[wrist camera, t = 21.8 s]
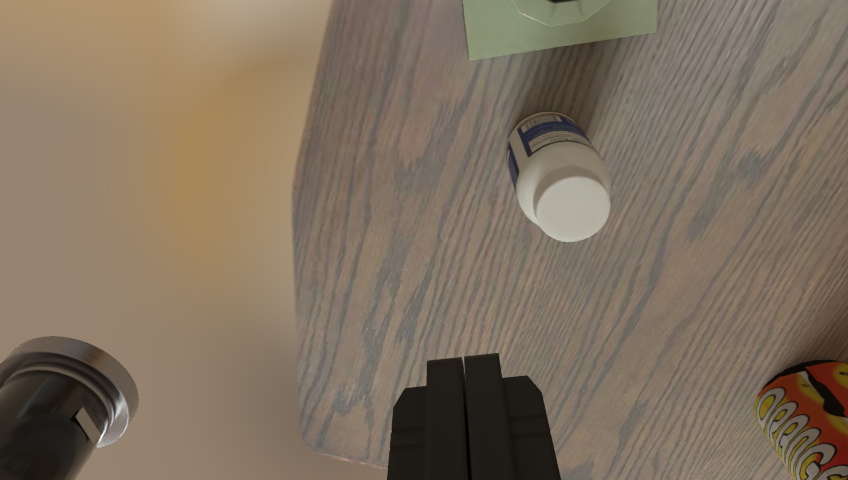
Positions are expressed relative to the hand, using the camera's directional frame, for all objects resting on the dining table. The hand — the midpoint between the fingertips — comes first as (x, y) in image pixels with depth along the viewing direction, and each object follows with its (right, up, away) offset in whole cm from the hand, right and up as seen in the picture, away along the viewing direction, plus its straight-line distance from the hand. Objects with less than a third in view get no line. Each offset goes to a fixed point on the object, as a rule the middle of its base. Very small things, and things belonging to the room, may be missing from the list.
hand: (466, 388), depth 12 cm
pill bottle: (+7, +9, +28) cm, 30 cm away
